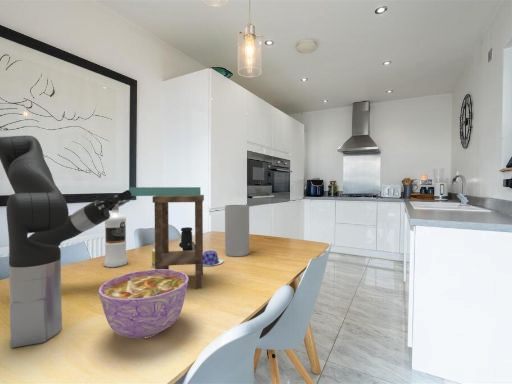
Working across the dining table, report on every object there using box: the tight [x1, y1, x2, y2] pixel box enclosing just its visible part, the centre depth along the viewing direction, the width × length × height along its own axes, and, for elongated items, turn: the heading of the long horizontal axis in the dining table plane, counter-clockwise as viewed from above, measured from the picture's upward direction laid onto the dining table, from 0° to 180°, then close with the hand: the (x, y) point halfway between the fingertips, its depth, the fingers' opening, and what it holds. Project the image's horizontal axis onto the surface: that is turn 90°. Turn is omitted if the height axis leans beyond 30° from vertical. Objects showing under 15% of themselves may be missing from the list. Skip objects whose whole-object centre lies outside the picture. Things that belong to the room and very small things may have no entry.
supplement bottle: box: [151, 243, 155, 268], centre depth 115 cm, size 5×5×10 cm
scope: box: [178, 226, 195, 251], centre depth 132 cm, size 8×14×10 cm
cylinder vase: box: [224, 204, 250, 258], centre depth 135 cm, size 12×12×25 cm
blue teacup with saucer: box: [203, 250, 224, 267], centre depth 120 cm, size 12×12×5 cm
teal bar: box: [128, 186, 202, 197], centre depth 94 cm, size 24×3×3 cm, turn 100°
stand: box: [152, 194, 205, 290], centre depth 95 cm, size 16×16×32 cm
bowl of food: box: [97, 268, 190, 339], centre depth 64 cm, size 20×20×12 cm
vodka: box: [103, 207, 128, 268], centre depth 116 cm, size 9×9×30 cm
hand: (133, 192), depth 92 cm, fingers open, 8 cm apart
